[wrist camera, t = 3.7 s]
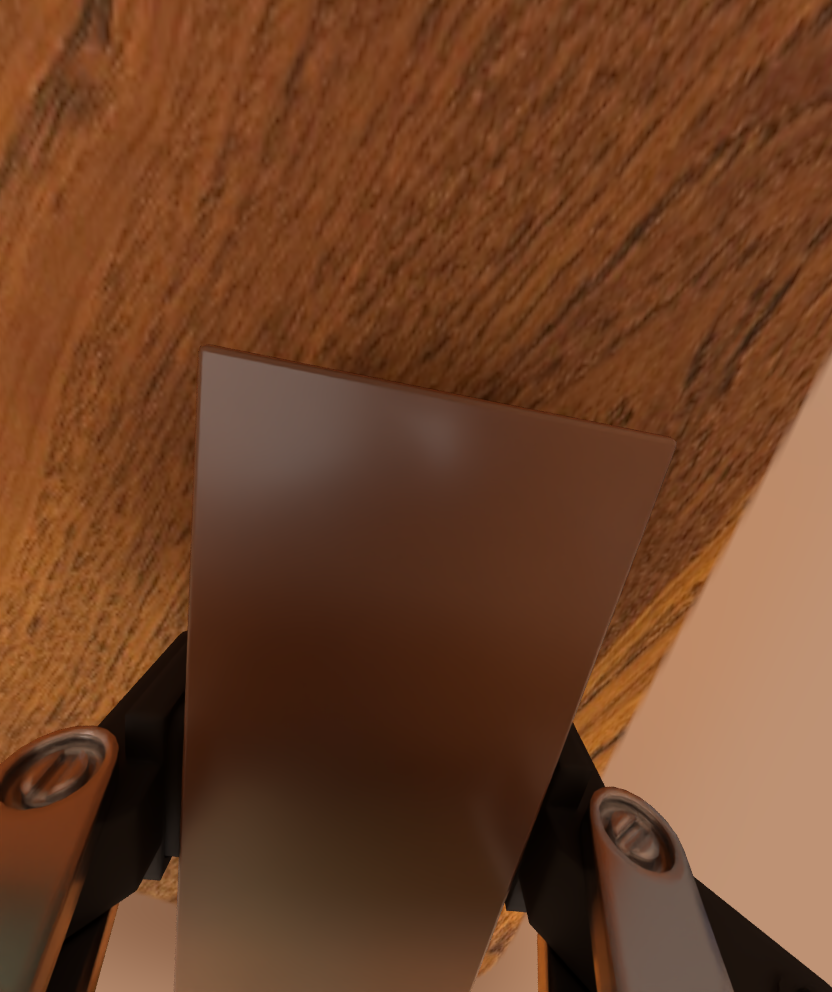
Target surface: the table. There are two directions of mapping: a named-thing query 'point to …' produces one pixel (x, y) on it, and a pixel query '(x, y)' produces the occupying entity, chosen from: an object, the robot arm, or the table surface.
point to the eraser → (381, 665)
